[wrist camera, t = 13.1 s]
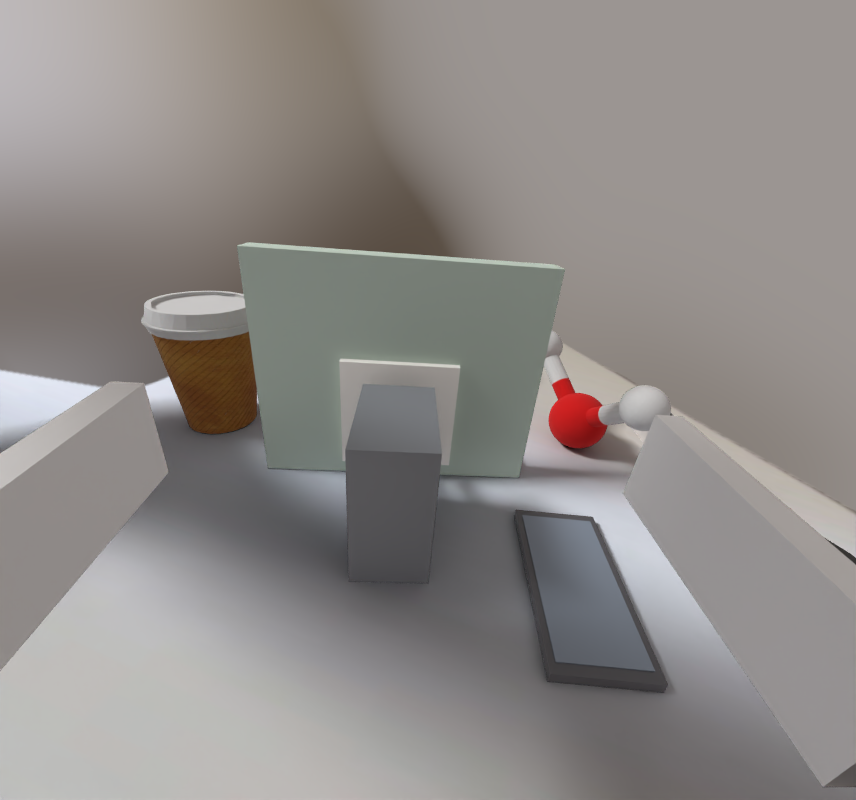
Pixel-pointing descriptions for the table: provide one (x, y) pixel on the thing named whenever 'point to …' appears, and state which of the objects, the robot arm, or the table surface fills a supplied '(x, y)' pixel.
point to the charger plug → (392, 483)
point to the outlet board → (396, 348)
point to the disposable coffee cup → (206, 356)
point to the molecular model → (595, 406)
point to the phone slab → (583, 606)
